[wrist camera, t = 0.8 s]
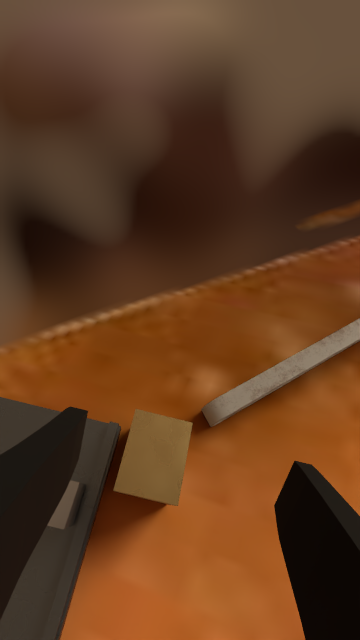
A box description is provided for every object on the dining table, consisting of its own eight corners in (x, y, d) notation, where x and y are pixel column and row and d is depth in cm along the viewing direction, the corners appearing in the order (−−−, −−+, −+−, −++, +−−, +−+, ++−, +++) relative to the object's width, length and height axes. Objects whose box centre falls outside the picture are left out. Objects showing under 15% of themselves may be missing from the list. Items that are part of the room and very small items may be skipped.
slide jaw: (72, 525, 22) (64, 529, 18) (-67, 492, 21) (-98, 491, 18) (85, 484, 23) (79, 482, 20) (-46, 453, 23) (-72, 446, 20)
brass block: (167, 504, 24) (177, 505, 19) (116, 492, 24) (113, 490, 19) (180, 437, 27) (192, 422, 22) (134, 426, 27) (135, 408, 22)
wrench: (196, 416, 31) (411, 294, 38) (205, 433, 30) (423, 306, 37) (205, 398, 24) (468, 252, 31) (218, 420, 23) (484, 266, 30)
